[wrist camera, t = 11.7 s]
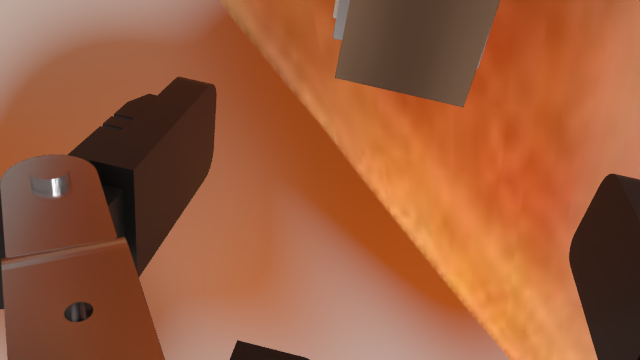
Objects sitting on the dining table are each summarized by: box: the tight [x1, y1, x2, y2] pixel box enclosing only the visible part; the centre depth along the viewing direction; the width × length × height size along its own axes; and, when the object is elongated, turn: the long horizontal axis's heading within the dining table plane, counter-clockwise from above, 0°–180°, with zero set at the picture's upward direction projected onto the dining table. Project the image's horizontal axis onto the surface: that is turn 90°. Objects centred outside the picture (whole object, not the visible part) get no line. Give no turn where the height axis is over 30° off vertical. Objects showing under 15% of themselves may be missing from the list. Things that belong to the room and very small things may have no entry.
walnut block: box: [335, 0, 500, 107], centre depth 22 cm, size 5×5×6 cm
